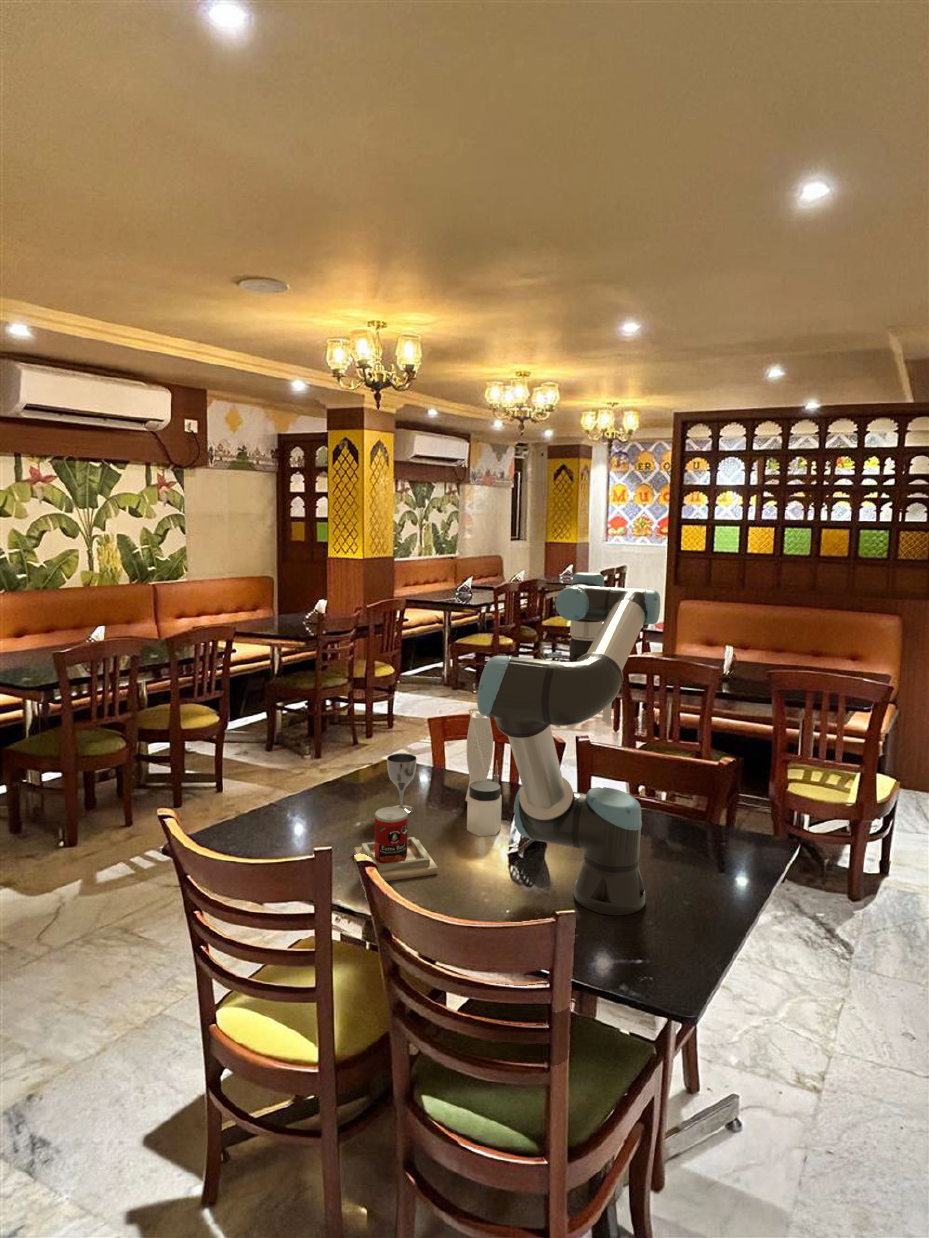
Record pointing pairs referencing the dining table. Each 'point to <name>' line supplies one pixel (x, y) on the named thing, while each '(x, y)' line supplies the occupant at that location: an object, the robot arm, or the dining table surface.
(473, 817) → the jar
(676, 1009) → the dining table surface
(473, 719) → the white vase
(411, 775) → the wine glass
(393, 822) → the canned food
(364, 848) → the holder
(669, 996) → the dining table surface
